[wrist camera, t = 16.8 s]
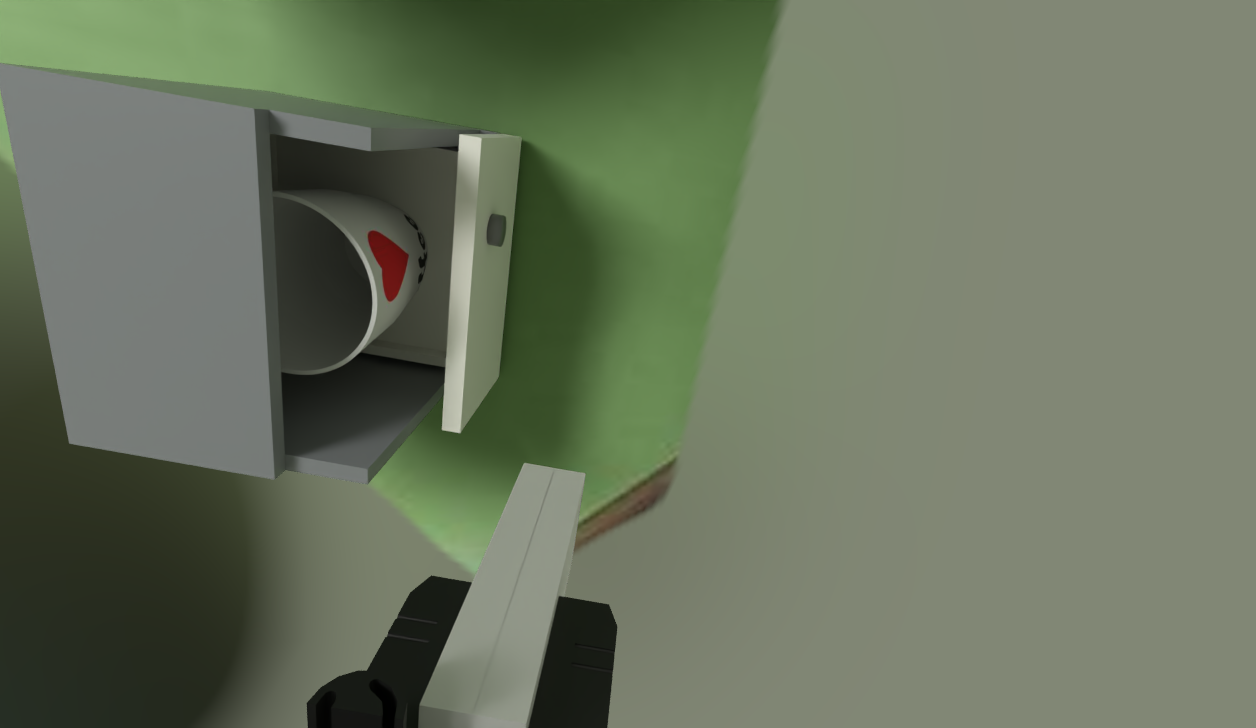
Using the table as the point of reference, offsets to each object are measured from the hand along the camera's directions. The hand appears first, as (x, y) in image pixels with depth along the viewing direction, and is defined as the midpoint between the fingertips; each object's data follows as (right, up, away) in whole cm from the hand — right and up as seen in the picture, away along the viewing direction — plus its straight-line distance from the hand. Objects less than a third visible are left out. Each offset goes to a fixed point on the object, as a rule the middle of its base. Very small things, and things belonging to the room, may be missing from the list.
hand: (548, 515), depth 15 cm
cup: (-12, +11, +21) cm, 26 cm away
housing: (-13, +11, +23) cm, 28 cm away
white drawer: (-13, +11, +23) cm, 28 cm away
